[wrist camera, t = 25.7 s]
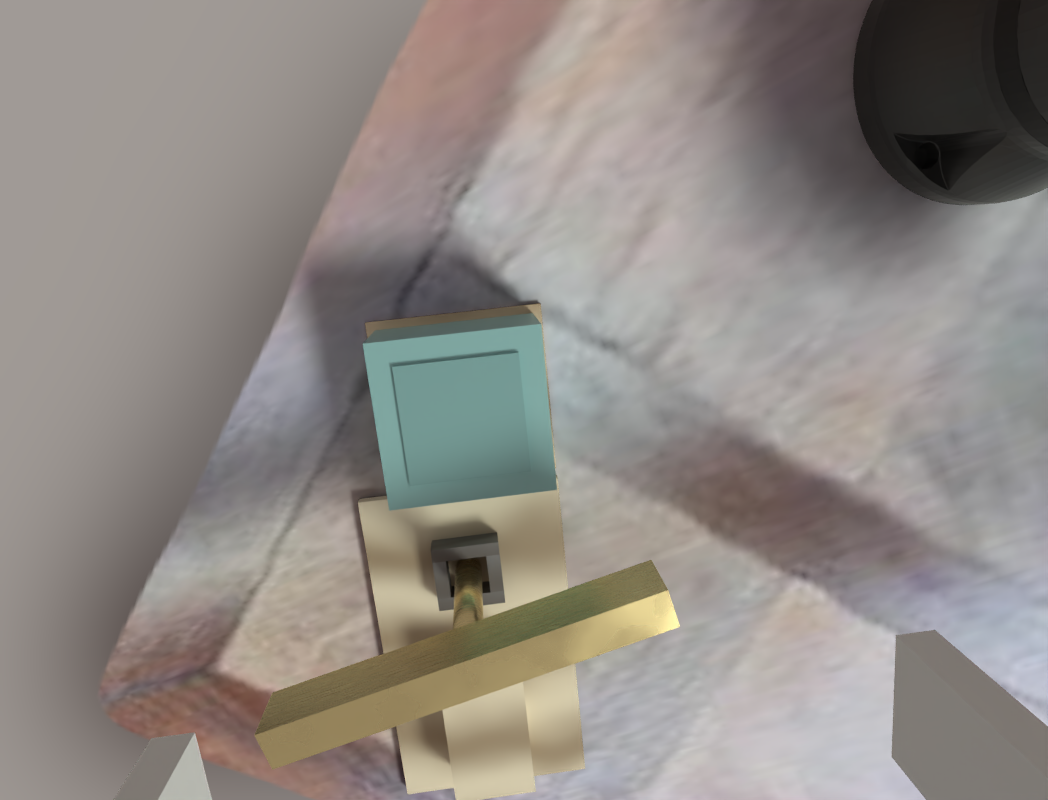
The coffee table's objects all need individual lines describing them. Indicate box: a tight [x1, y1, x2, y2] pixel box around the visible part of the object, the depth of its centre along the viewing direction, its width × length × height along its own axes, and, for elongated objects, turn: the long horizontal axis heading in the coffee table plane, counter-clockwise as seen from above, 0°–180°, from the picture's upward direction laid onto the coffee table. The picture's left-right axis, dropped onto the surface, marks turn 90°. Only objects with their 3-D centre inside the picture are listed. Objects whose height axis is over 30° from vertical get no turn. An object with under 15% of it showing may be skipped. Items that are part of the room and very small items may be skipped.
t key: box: [254, 558, 680, 769], centre depth 37 cm, size 20×2×11 cm, turn 109°
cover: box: [363, 313, 557, 511], centre depth 38 cm, size 9×9×5 cm
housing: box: [358, 475, 585, 800], centre depth 43 cm, size 21×12×4 cm, turn 6°
